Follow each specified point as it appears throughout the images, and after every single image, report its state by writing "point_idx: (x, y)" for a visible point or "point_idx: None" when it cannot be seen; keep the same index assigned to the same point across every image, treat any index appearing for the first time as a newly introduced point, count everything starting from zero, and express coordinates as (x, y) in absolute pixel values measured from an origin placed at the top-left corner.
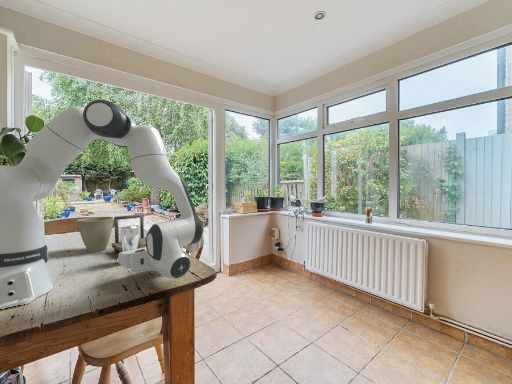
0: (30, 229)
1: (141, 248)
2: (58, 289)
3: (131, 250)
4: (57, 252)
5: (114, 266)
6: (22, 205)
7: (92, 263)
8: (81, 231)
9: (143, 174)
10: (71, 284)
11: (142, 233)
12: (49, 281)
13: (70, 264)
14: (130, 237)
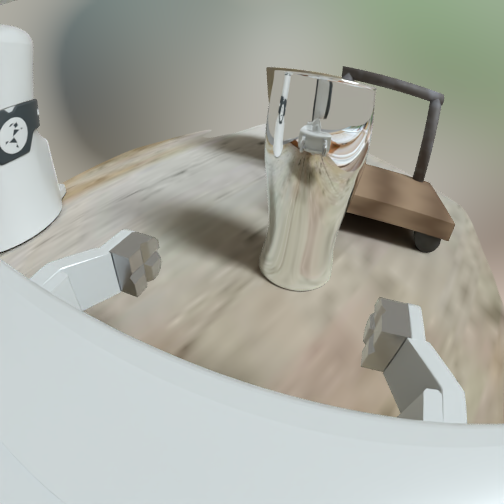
0: None
1: (69, 348)
2: (17, 256)
3: (1, 291)
4: (245, 139)
5: (218, 254)
6: None
7: (216, 196)
8: (268, 96)
9: None
10: (43, 258)
11: (423, 163)
12: (12, 221)
13: (191, 174)
14: (295, 135)
